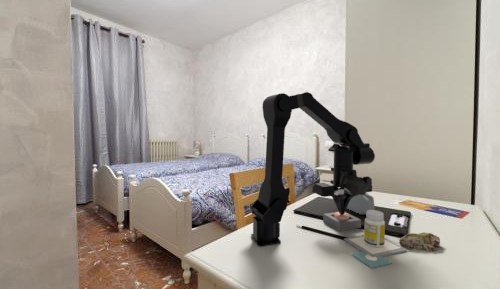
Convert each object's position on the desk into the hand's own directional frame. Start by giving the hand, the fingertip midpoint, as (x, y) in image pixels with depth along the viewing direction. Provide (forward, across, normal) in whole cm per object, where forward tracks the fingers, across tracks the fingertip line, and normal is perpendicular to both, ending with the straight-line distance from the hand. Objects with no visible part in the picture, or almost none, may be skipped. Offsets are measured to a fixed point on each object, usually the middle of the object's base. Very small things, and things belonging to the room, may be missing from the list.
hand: (341, 214), depth 77 cm
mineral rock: (+4, +11, -17) cm, 21 cm away
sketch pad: (+3, -1, -14) cm, 14 cm away
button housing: (+3, 0, 0) cm, 3 cm away
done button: (+2, 0, 0) cm, 2 cm away
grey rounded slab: (+4, +13, +8) cm, 16 cm away
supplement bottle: (+3, -1, -14) cm, 14 cm away
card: (+3, -7, -19) cm, 21 cm away
